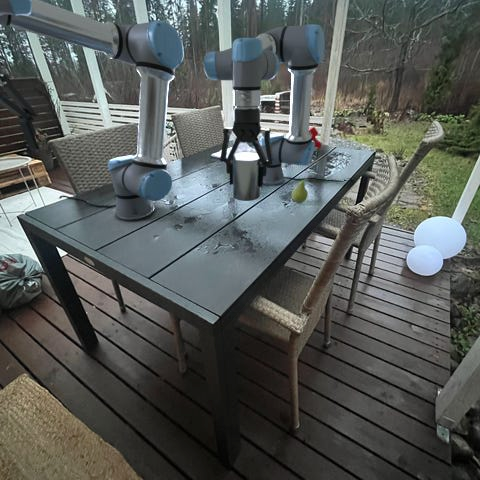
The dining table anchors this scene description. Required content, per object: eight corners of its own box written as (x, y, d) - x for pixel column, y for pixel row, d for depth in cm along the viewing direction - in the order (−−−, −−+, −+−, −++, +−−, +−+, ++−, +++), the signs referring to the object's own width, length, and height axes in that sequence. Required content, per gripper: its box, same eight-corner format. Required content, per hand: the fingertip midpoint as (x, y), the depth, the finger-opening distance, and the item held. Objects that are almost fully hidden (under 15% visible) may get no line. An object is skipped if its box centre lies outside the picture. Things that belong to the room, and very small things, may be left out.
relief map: (253, 165, 166) (254, 157, 163) (211, 156, 184) (210, 148, 181) (276, 155, 184) (277, 147, 181) (235, 147, 202) (235, 140, 199)
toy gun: (325, 144, 195) (314, 126, 192) (324, 145, 192) (313, 127, 188) (303, 157, 205) (292, 140, 202) (302, 159, 202) (291, 142, 198)
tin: (227, 195, 90) (225, 156, 83) (246, 188, 95) (246, 151, 88) (245, 203, 84) (246, 162, 77) (265, 195, 89) (267, 156, 82)
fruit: (288, 200, 123) (290, 174, 116) (302, 197, 125) (305, 172, 119) (296, 206, 118) (299, 179, 111) (310, 203, 120) (314, 177, 114)
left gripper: (-126, 41, 42) (-47, 173, 54) (31, 48, 62) (64, 144, 73) (-148, 42, 45) (-68, 169, 56) (9, 49, 64) (45, 142, 76)
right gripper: (205, 108, 74) (210, 185, 87) (284, 110, 70) (278, 191, 82) (214, 104, 81) (217, 177, 93) (287, 106, 76) (281, 182, 88)
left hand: (7, 155), depth 65 cm, fingers open, 13 cm apart
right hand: (246, 184), depth 88 cm, fingers closed on tin, 9 cm apart
